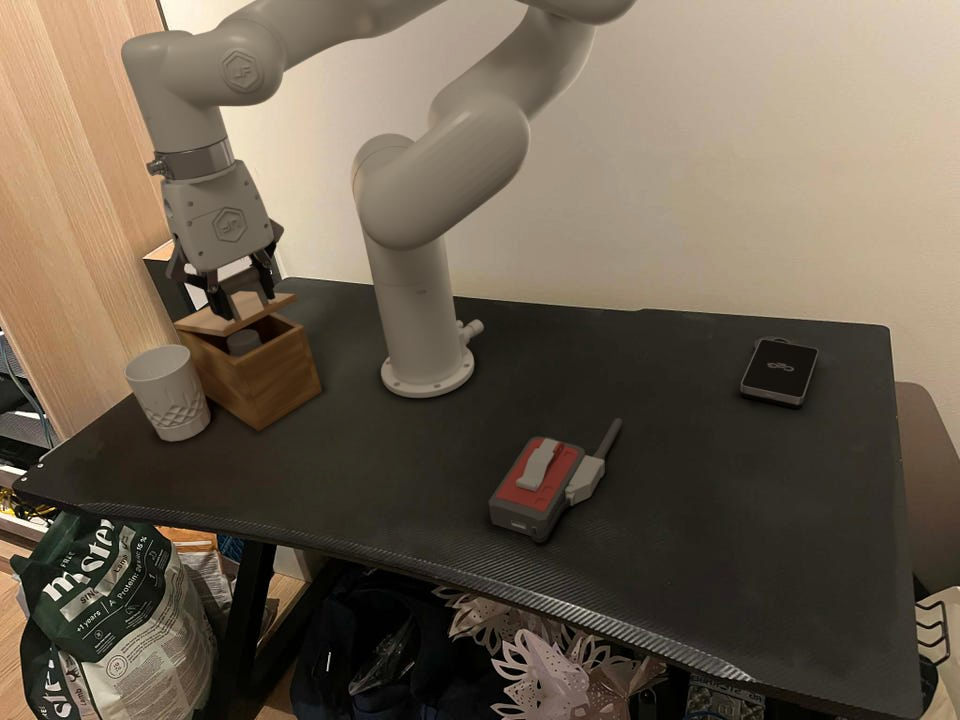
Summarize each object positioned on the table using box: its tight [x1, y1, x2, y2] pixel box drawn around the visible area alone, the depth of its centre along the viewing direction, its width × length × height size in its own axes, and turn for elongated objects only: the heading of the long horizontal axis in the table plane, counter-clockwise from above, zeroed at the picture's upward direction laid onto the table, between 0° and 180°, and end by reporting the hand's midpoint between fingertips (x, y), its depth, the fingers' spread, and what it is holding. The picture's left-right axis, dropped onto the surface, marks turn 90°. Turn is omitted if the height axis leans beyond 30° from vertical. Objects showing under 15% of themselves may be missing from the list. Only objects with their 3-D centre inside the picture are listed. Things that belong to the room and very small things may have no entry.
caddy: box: [175, 311, 323, 432], centre depth 94 cm, size 15×10×10 cm
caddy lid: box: [172, 266, 298, 337], centre depth 89 cm, size 15×10×6 cm, turn 48°
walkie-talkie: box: [487, 417, 624, 544], centre depth 75 cm, size 9×4×20 cm
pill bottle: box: [227, 329, 263, 360], centre depth 93 cm, size 5×5×8 cm
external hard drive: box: [739, 338, 820, 409], centre depth 86 cm, size 7×11×2 cm, turn 150°
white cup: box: [123, 343, 212, 443], centre depth 90 cm, size 8×8×10 cm
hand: (245, 305), depth 86 cm, fingers closed on caddy lid, 5 cm apart
